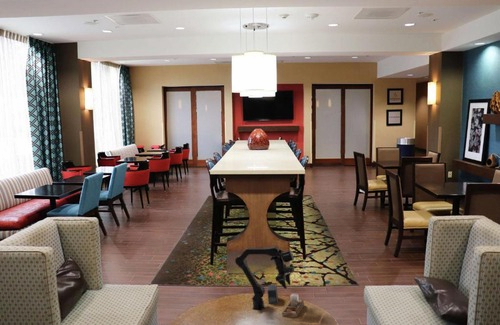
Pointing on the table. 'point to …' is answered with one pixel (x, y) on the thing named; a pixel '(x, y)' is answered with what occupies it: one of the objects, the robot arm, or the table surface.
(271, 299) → the small box
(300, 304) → the divided wooden tray
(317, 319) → the table surface
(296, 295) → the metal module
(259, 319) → the table surface
